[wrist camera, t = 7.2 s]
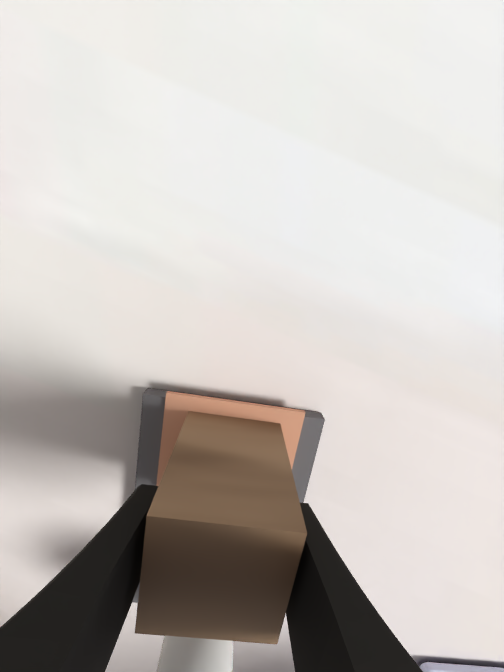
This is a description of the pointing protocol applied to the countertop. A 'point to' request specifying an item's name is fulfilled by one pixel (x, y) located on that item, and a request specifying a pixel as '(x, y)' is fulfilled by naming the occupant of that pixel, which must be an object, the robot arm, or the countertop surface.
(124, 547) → the robot arm
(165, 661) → the grey peg
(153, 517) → the walnut block
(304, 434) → the mat
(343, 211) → the countertop surface
